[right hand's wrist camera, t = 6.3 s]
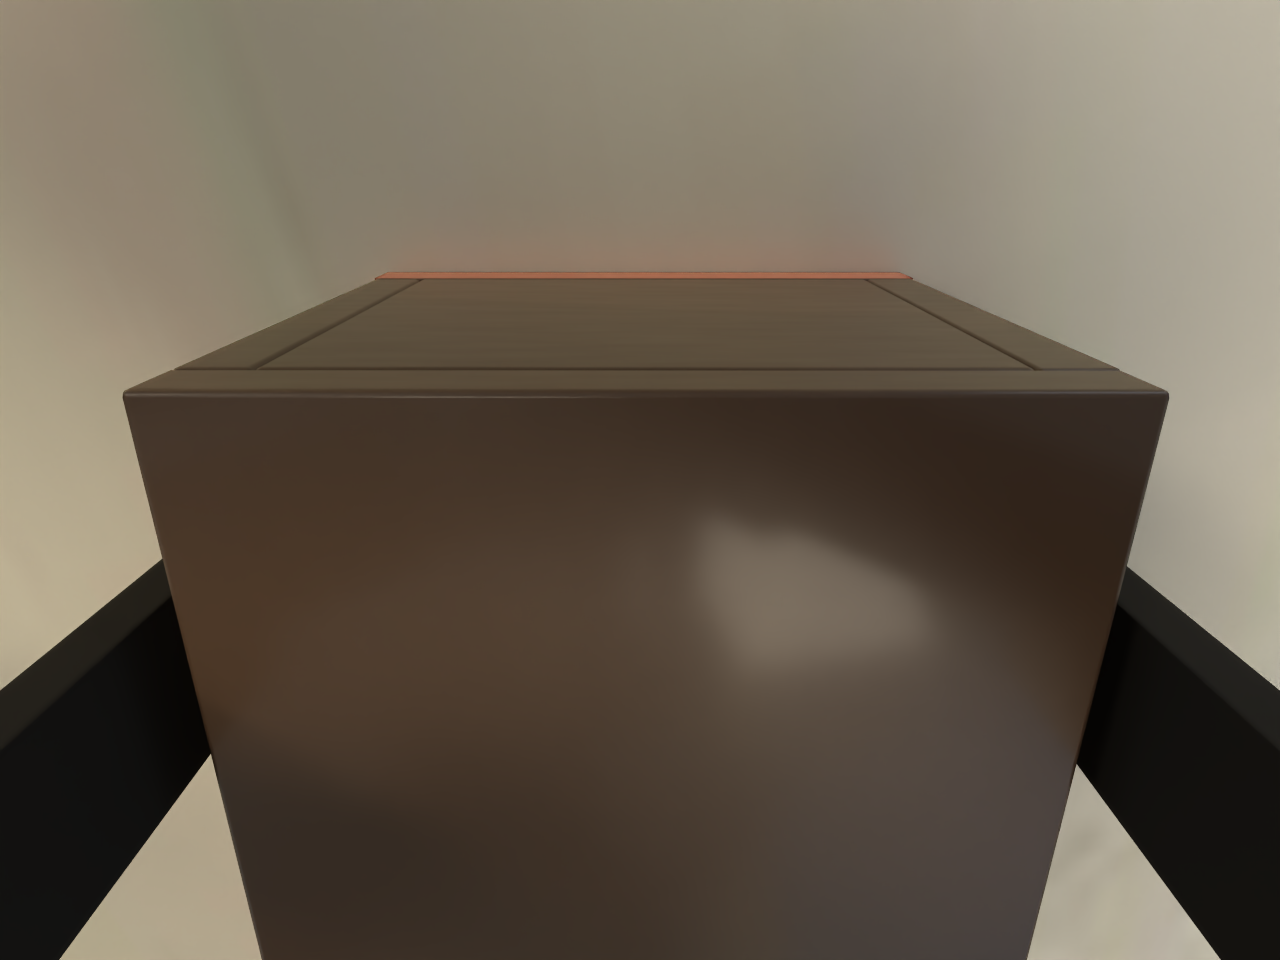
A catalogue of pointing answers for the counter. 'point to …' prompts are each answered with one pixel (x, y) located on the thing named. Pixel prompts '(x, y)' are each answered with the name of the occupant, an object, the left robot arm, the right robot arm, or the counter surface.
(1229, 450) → the counter surface
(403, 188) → the counter surface
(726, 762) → the cabinet
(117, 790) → the right robot arm
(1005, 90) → the counter surface
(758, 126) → the counter surface
